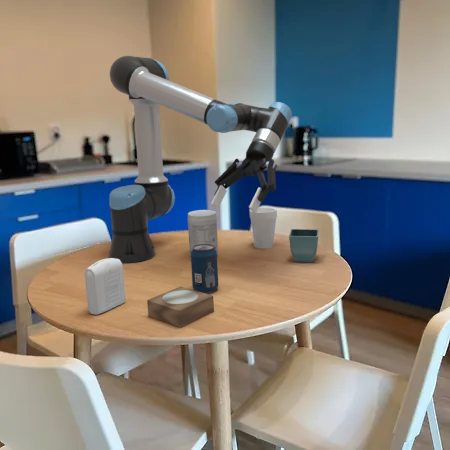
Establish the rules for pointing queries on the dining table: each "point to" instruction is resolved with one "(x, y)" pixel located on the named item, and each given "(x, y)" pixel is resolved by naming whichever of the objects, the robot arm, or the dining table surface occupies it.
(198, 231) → the supplement tub
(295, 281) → the dining table surface
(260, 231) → the foam cup
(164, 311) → the plinth
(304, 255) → the flower pot
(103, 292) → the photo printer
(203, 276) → the soda can
